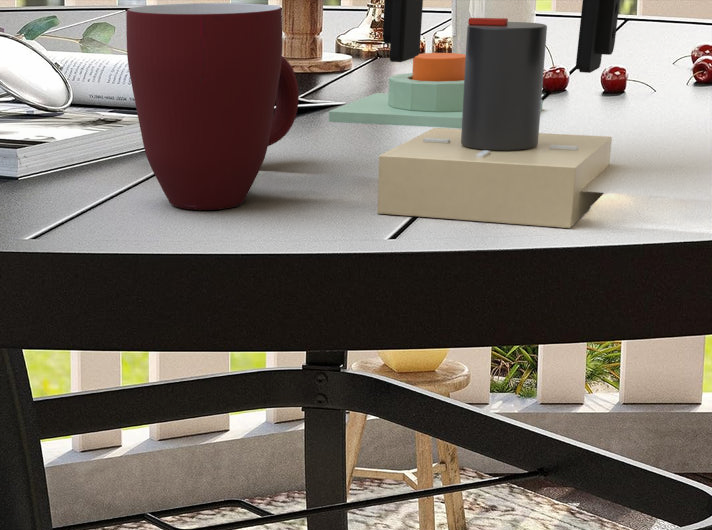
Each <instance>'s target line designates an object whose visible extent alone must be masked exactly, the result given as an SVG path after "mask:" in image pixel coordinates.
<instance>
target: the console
mask: <svg viewBox="0 0 712 530" xmlns="http://www.w3.org/2000/svg"><path fill="white" fill-rule="evenodd" d="M461 131H462V128H446V127H432V128H431V129H429V130H427V131H425V132H423V133H421V134H419V135H417V136H415V137H413V138H411V139H410V140H407V141H405V142H403V143H401V144H399V145H398V146H395V147H393V148H392V149H389V150H388V151H386V152H383V153H382V154H379V156H378V178H377V179H378V180H377V181H378V184H377V185H378V186H377V210H376V212H377V214H378V215H392V216H403V217H404V216H405V217H416V218H418V217H419V218H429V219H442V220H443V219H444V220H456V221H471V222H483V223H497V224H510V225H522V226H534V227H536V226H537V227H546V228H547V227H550V228H562V229H572V227H573V226H574V225H575V224H576V223H577V222H578V221H579V220H580V219H581V218H582V217H583V216H584V215H585V214H586V213H587V212H588V211H589V210H590V209H591V207H592V206H593V205H594V204H595V203H596V202H597V201H598V200H599V199H600V198H602V196H603V195H604V194H605V192H600V191H598V192H597V191H583V189H584V188H585V187H587V186H588V185H589V184H590V183H591V182H593V180H594V179H596V177H598V175H600V174H601V173H602V172H603V171H604V170H605V169H606V168H607V167H608V166H609V165H610V160H611V151H612V140H613V137H612V136H607V135H606V136H605V135H604V136H603V135H587V134H586V135H584V134H565V133H543V132H539V137H538V145H537V146H536V147H533V148H530V149H524V150H510V151H495V150H481V149H473V148H469V147H465V146H463V145H462V144H461Z"/></svg>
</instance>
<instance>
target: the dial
mask: <svg viewBox="0 0 712 530" xmlns="http://www.w3.org/2000/svg"><path fill="white" fill-rule="evenodd" d="M467 23H468V24H467V27H466V44H465V55H466V59H465V77H464V95H463V113H462V128H461V129H462V131H461V144H462V145H463V146H465V147H469V148H473V149H481V150H495V151H510V150H524V149H530V148H533V147H536V146H537V145H538V137H539V133H540V124H541V123H540V121H541V111H542V110H541V100H542V97H543V96H542V95H543V85H544V70H545V59H546V48H547V47H546V45H547V33H548V32H547V31H548V25H547V24H544V23H539V22H529V21H528V22H527V21H526V22H525V21H509V18H505V17H501V18H500V17H469V18H468V22H467Z"/></svg>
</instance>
